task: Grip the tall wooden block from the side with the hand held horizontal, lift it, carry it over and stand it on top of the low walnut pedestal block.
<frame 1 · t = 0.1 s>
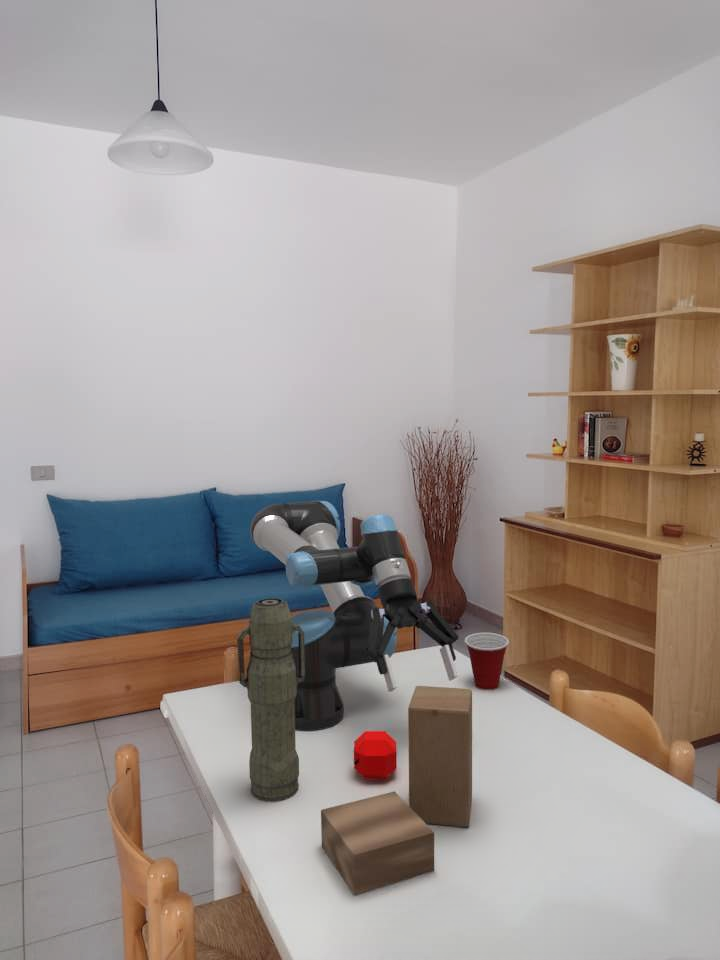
hand: (423, 684, 141), 15 cm above the table, tool tilted 35°, fingers open, 13 cm apart
thermos: (274, 790, 132), on the table
ball: (375, 775, 137), on the table
walnut pedestal block: (376, 857, 111), on the table
wooden block: (441, 810, 124), on the table
plastic cup: (486, 686, 180), on the table
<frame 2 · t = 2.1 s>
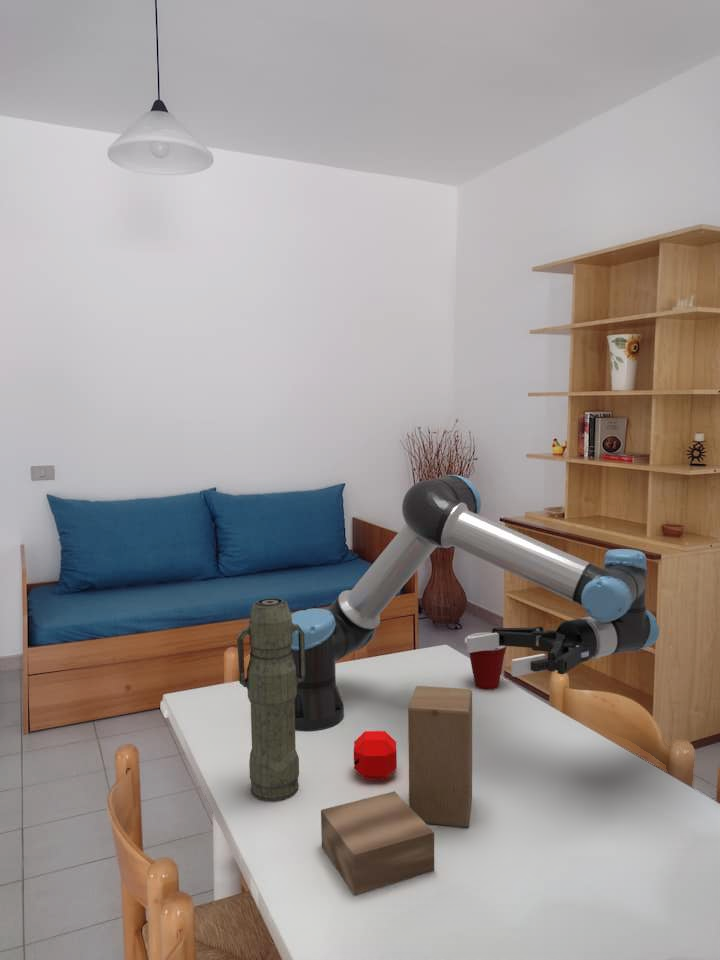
hand: (489, 656, 126), 26 cm above the table, tool horizontal, fingers open, 13 cm apart
nothing on the table moved.
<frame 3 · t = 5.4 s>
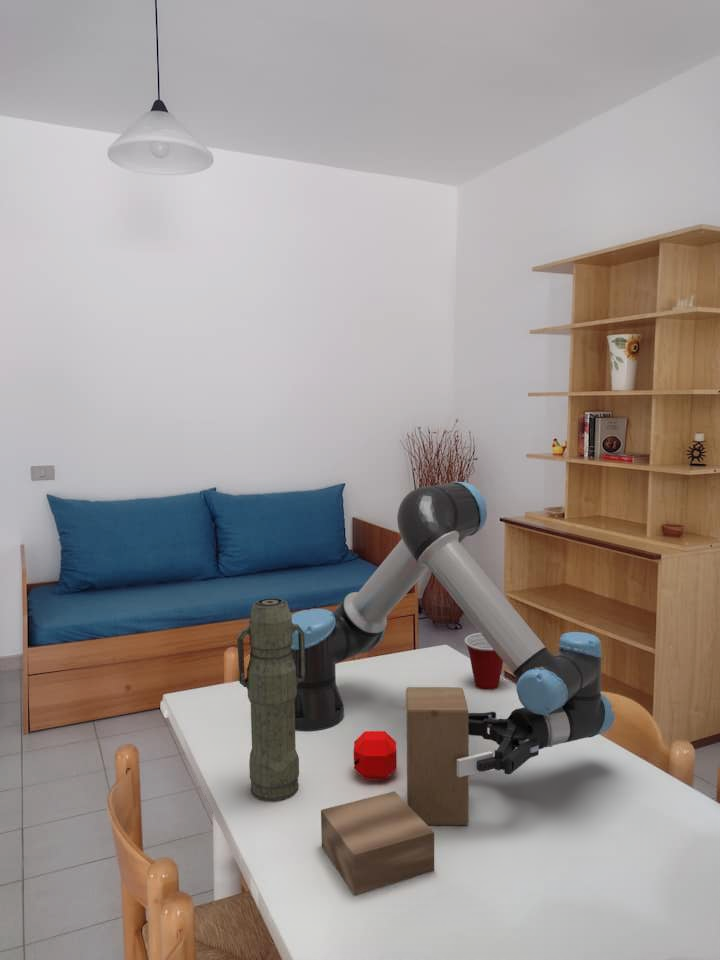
hand: (436, 750, 122), 11 cm above the table, tool horizontal, fingers open, 13 cm apart
wooden block: (436, 810, 124), on the table, touching gripper
everything else where it was.
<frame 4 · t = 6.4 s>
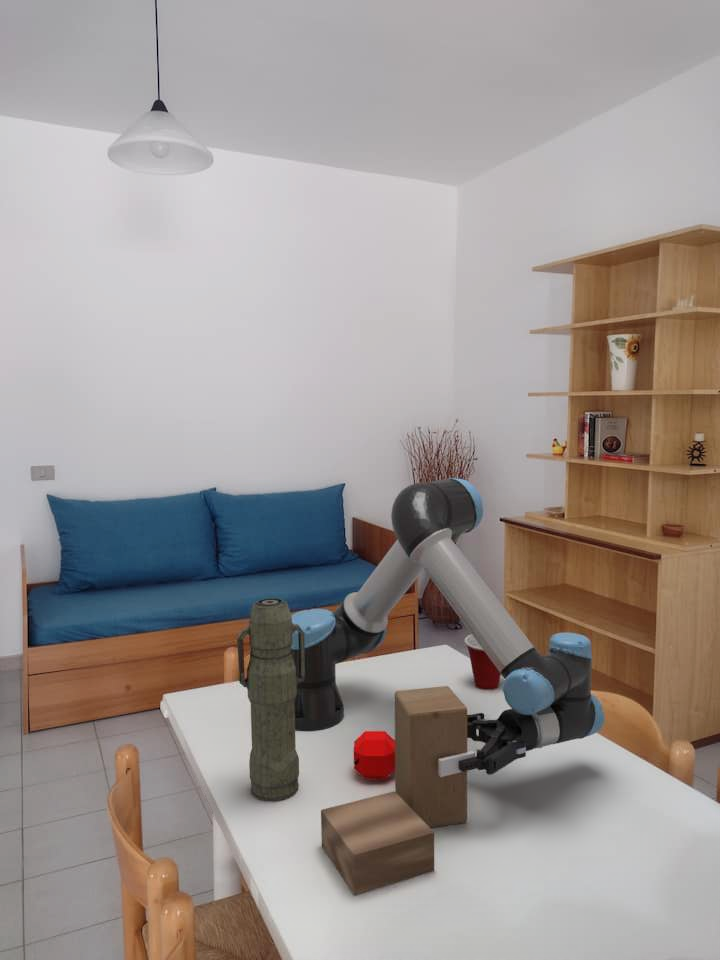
hand: (421, 752, 122), 11 cm above the table, tool horizontal, fingers closed on wooden block, 11 cm apart
wooden block: (430, 812, 124), on the table, touching gripper
everything else where it was.
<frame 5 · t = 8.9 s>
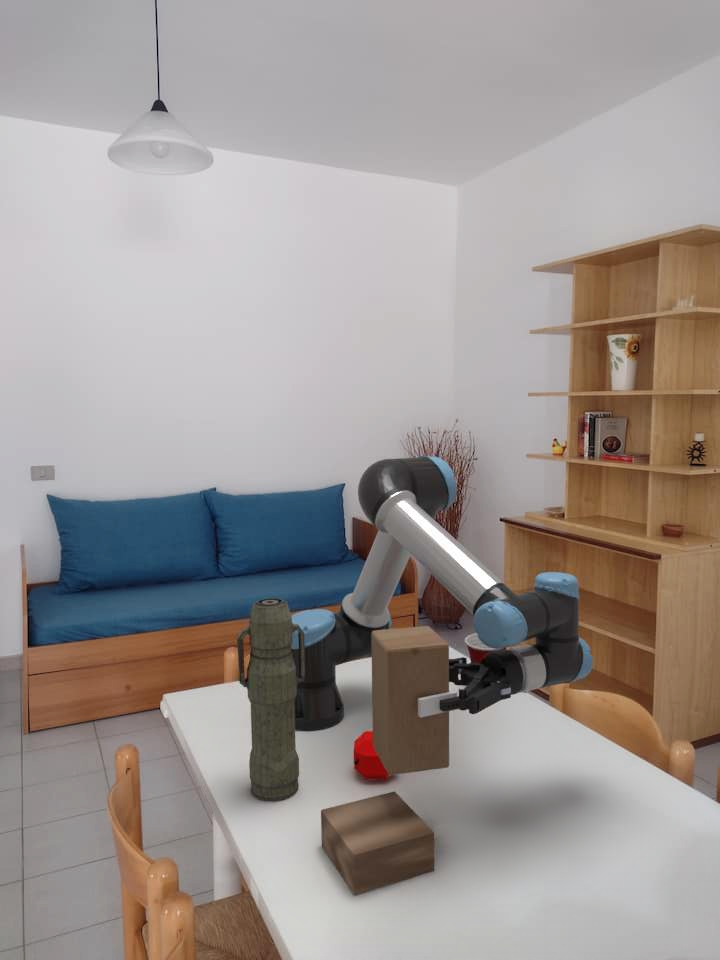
hand: (399, 694, 114), 24 cm above the table, tool horizontal, fingers closed on wooden block, 11 cm apart
wooden block: (410, 758, 116), point 13 cm above the table, touching gripper
everything else where it was.
when the fingers open (18 cm above the table, at t = 11.4 s): wooden block drops 1 cm, resting on walnut pedestal block.
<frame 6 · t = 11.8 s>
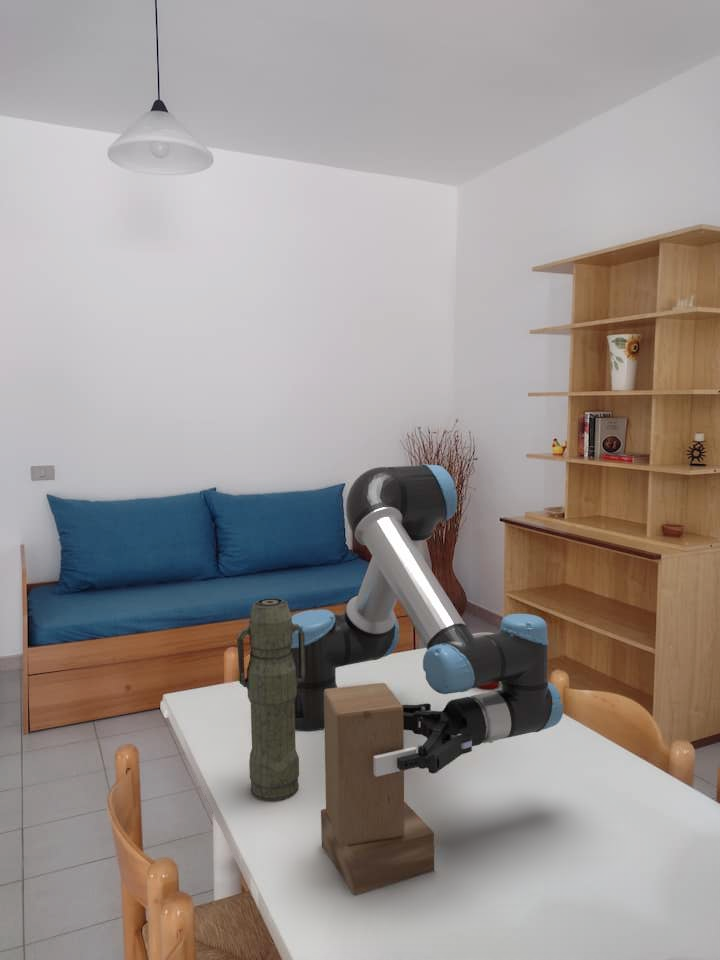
hand: (354, 746, 108), 18 cm above the table, tool horizontal, fingers open, 13 cm apart
wooden block: (364, 825, 109), point 6 cm above the table, touching walnut pedestal block
everything else where it was.
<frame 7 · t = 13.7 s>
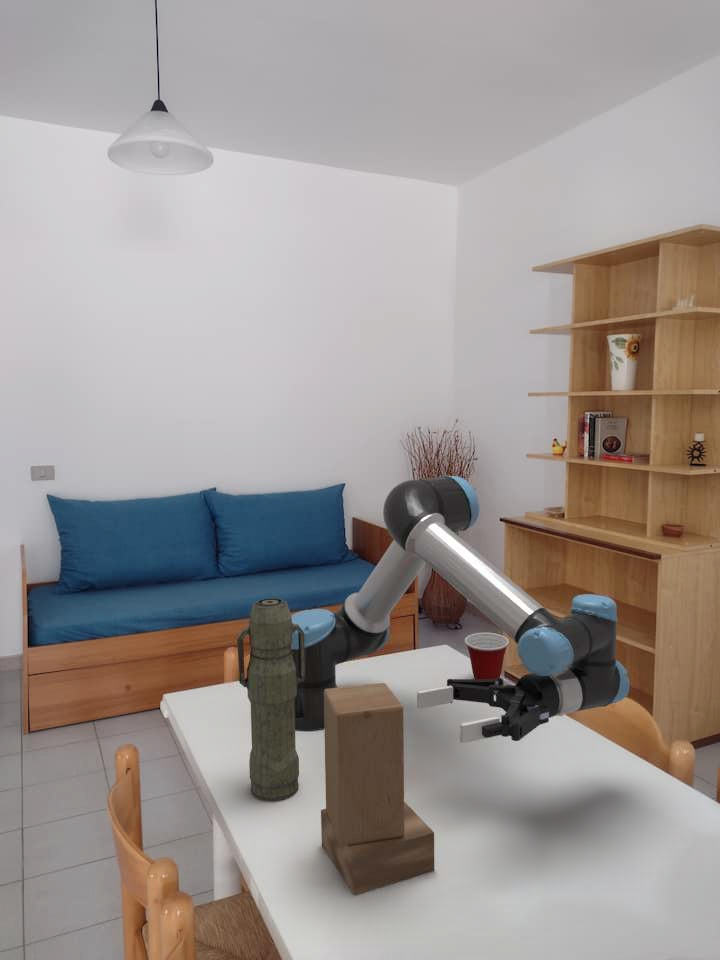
hand: (438, 716, 114), 20 cm above the table, tool horizontal, fingers open, 13 cm apart
nothing on the table moved.
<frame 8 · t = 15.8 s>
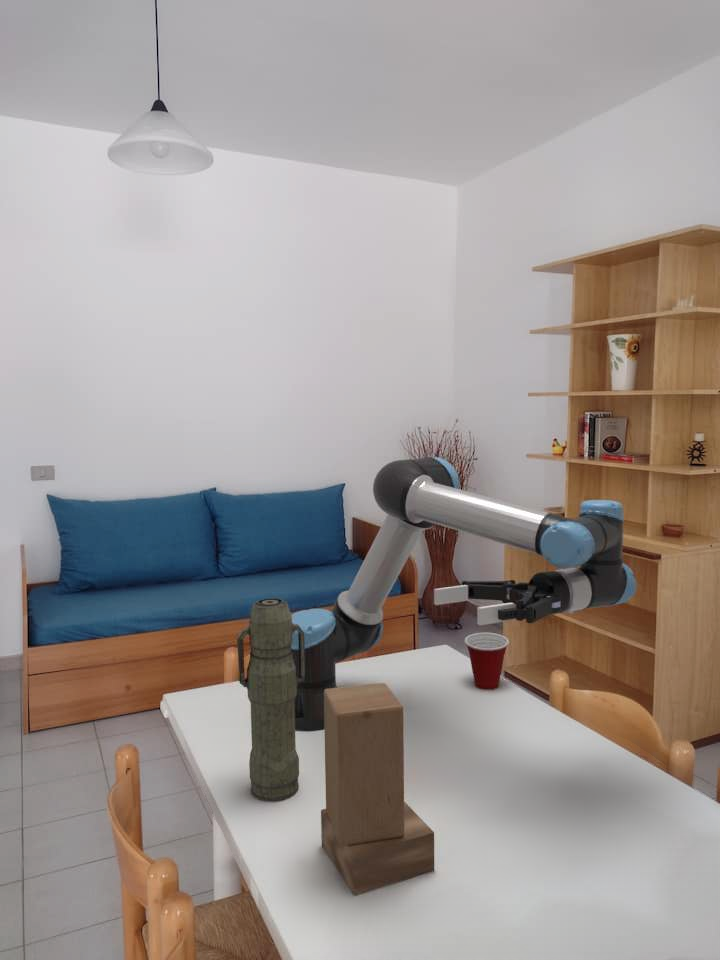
hand: (455, 606, 120), 36 cm above the table, tool horizontal, fingers open, 13 cm apart
nothing on the table moved.
at the end: wooden block 2.0 cm from the walnut pedestal block (horizontally); wooden block point 5.8 cm above the table; wooden block tilted 0° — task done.
